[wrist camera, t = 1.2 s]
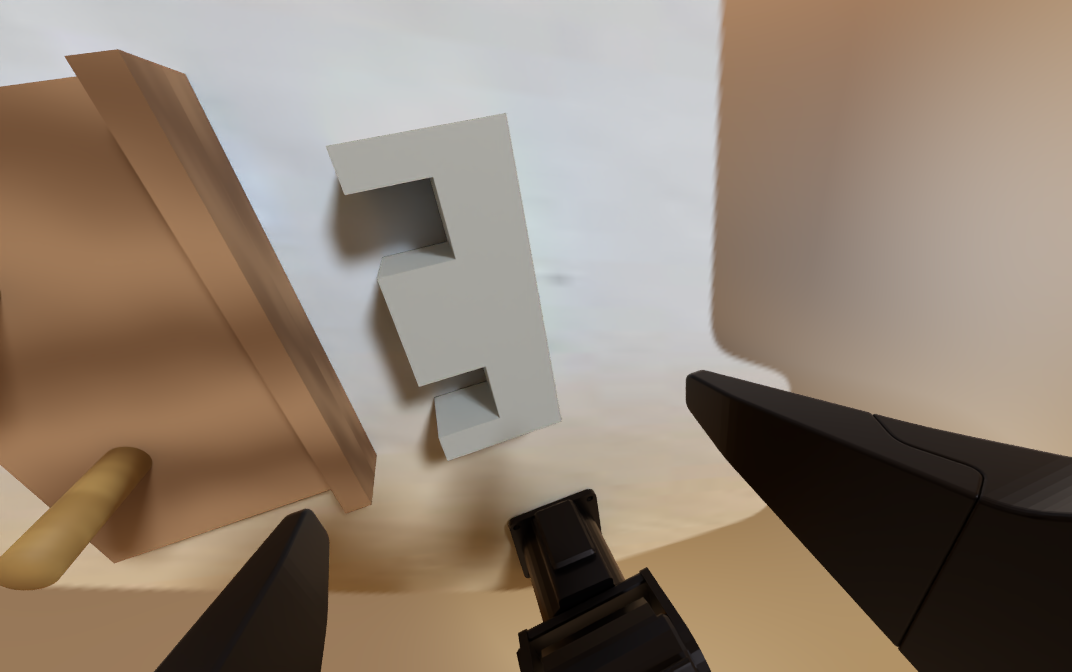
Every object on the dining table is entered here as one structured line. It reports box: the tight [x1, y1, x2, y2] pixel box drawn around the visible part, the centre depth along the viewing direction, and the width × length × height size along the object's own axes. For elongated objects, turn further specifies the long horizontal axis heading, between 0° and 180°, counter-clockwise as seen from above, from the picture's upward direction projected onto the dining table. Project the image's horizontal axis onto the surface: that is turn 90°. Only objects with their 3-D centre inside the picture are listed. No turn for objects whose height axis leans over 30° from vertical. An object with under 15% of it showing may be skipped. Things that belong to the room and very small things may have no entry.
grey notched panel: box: [326, 113, 562, 461], centre depth 17 cm, size 14×6×4 cm, turn 10°
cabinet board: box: [0, 49, 377, 590], centre depth 13 cm, size 18×12×6 cm, turn 10°
